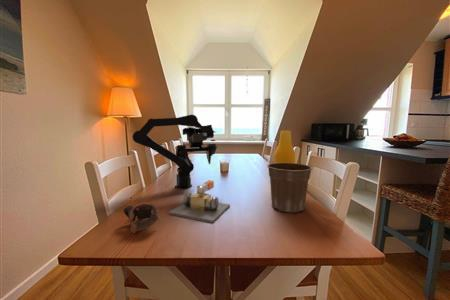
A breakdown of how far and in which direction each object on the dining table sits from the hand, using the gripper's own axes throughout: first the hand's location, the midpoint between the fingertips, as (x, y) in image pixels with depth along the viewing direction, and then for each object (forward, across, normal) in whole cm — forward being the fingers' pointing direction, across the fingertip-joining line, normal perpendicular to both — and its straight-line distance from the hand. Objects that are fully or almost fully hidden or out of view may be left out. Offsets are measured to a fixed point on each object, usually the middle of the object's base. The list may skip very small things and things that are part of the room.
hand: (200, 164), depth 94 cm
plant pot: (+29, +27, -10) cm, 41 cm away
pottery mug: (+26, -26, -7) cm, 37 cm away
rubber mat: (+23, -5, -4) cm, 23 cm away
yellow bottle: (+19, +36, +1) cm, 41 cm away
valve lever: (+16, -2, -6) cm, 18 cm away
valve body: (+23, -5, -4) cm, 23 cm away
